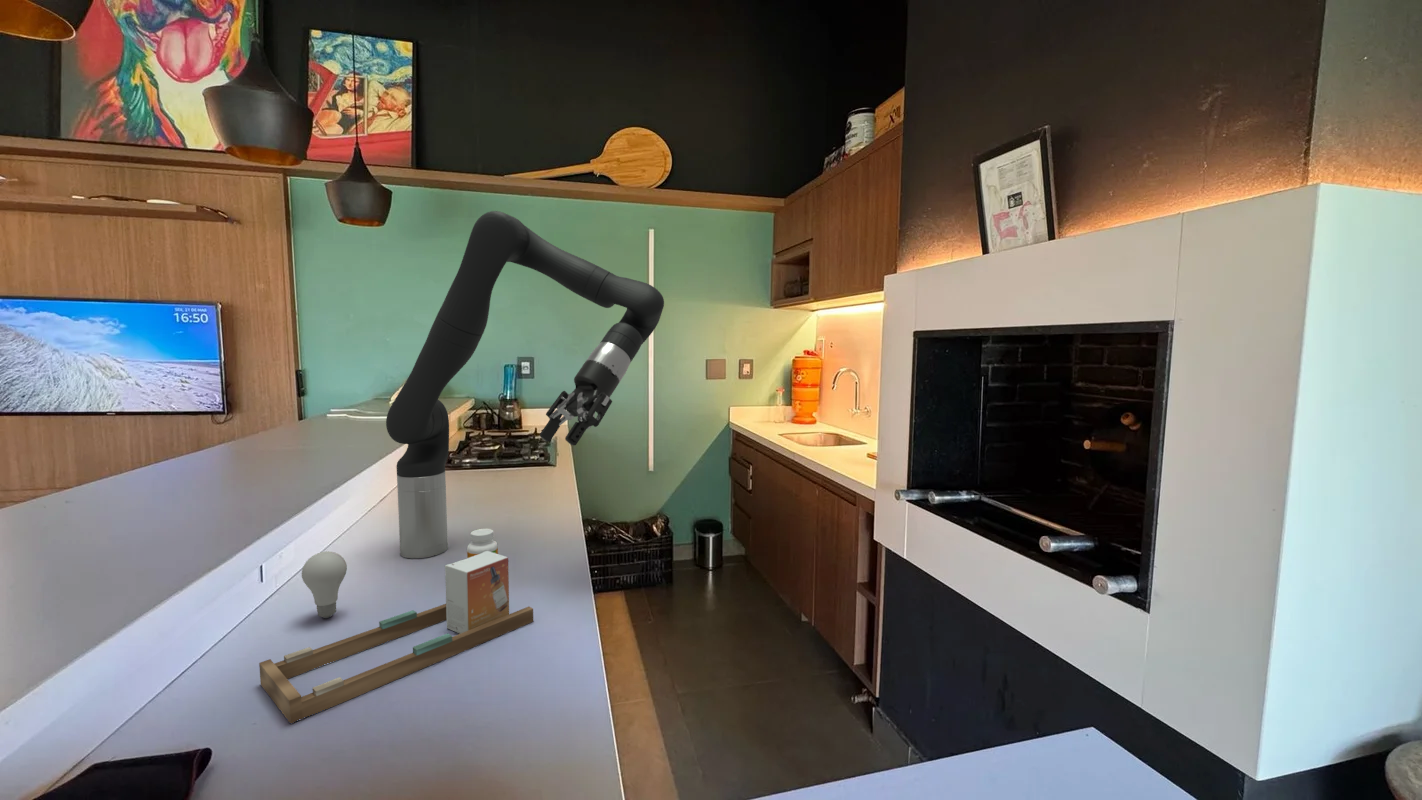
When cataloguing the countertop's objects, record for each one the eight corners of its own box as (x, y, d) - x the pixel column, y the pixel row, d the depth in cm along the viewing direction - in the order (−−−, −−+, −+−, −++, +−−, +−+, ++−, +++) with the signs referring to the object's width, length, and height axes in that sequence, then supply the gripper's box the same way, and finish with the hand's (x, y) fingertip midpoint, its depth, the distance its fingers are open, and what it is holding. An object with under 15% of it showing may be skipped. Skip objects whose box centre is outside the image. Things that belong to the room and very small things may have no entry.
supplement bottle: (488, 588, 106) (486, 537, 105) (461, 586, 107) (460, 535, 106) (504, 577, 111) (502, 528, 110) (479, 574, 113) (477, 526, 112)
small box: (467, 638, 88) (465, 572, 87) (445, 628, 91) (443, 564, 90) (510, 618, 95) (509, 556, 94) (488, 609, 98) (487, 549, 97)
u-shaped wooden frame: (260, 684, 76) (259, 662, 76) (492, 599, 102) (491, 583, 102) (290, 724, 68) (289, 700, 68) (533, 621, 94) (533, 603, 94)
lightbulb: (357, 612, 96) (354, 548, 95) (322, 629, 91) (318, 561, 90) (331, 606, 98) (327, 544, 97) (295, 622, 93) (291, 556, 92)
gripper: (569, 359, 113) (521, 426, 106) (613, 357, 103) (564, 431, 96) (594, 383, 117) (549, 449, 110) (638, 383, 108) (593, 456, 101)
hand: (556, 440), depth 103 cm, fingers open, 8 cm apart
